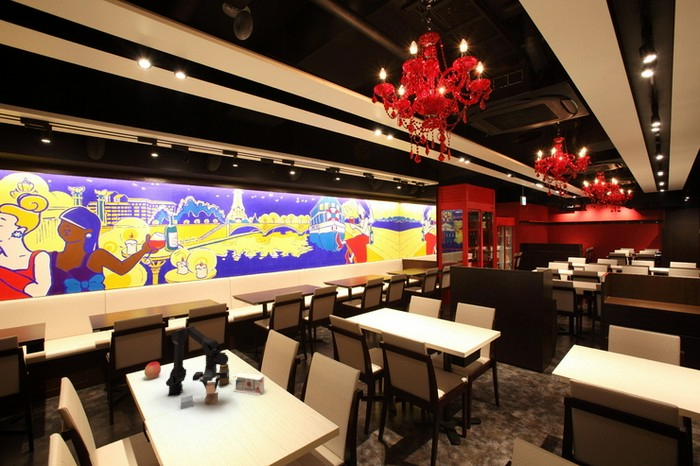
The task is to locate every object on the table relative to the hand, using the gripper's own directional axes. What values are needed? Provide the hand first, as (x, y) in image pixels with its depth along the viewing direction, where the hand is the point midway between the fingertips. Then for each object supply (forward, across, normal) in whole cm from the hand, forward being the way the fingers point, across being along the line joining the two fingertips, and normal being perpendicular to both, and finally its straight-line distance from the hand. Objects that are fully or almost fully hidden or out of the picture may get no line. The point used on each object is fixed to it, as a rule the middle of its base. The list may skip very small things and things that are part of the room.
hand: (211, 389), depth 179 cm
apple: (+8, -49, +41) cm, 64 cm away
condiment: (+7, +2, +22) cm, 23 cm away
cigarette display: (+7, +20, +9) cm, 23 cm away
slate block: (+7, -13, -1) cm, 15 cm away
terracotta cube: (+1, 0, 0) cm, 1 cm away
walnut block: (+7, 0, 0) cm, 7 cm away
